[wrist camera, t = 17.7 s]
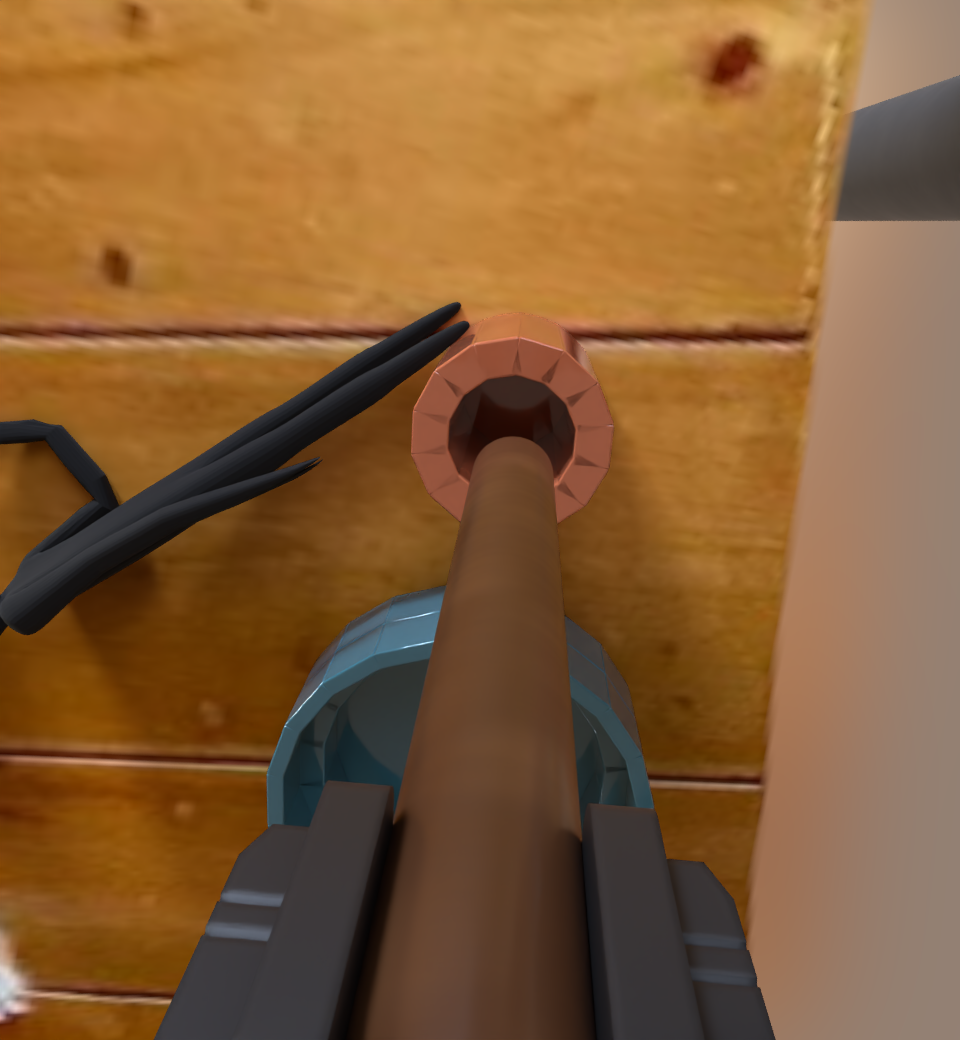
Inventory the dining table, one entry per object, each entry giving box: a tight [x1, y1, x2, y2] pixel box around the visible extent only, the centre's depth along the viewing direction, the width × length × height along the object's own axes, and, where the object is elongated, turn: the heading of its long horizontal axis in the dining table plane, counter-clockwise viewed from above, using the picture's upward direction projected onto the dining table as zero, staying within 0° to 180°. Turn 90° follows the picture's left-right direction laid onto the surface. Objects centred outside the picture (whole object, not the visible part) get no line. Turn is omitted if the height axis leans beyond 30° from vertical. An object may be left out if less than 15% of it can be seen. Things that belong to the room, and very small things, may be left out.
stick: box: [345, 437, 596, 1040], centre depth 15 cm, size 2×2×20 cm
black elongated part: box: [0, 302, 469, 635], centre depth 34 cm, size 8×9×25 cm
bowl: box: [267, 585, 654, 833], centre depth 38 cm, size 15×15×6 cm
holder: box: [411, 313, 614, 524], centre depth 32 cm, size 6×6×8 cm
